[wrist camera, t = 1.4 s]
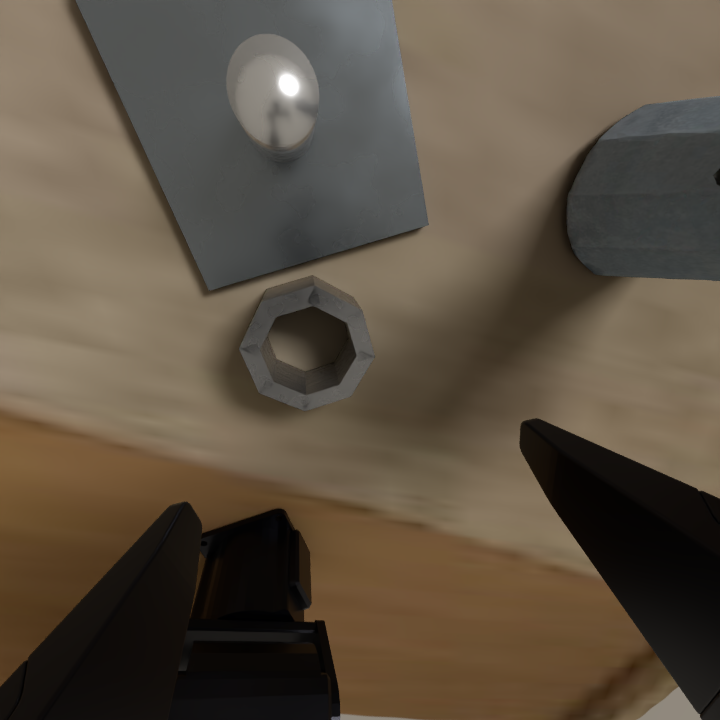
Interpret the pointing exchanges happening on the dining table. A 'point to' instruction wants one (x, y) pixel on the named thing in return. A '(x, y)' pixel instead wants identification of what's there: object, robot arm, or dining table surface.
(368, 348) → the ring
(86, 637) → the robot arm
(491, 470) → the dining table surface
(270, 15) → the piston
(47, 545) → the dining table surface
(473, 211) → the dining table surface
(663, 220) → the moka pot
